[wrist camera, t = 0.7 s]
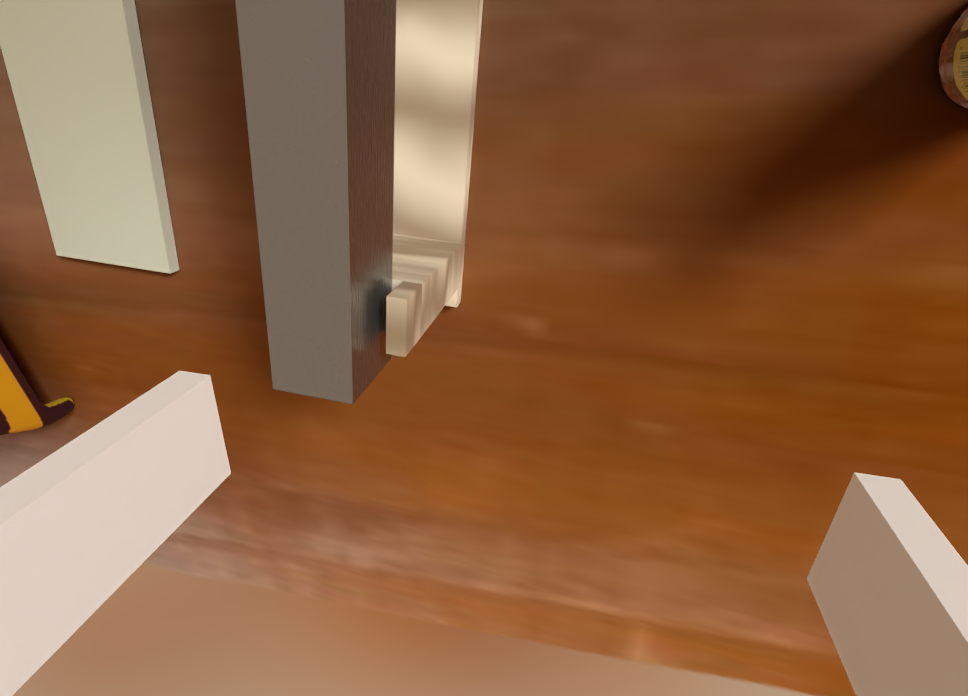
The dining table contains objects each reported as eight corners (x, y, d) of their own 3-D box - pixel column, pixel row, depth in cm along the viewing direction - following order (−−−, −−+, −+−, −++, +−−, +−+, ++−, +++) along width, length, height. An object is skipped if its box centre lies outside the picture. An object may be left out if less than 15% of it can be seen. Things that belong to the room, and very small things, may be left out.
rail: (289, -336, 18) (188, -481, 14) (401, -338, 17) (333, -490, 13) (322, 346, 29) (273, 389, 25) (390, 357, 29) (352, 404, 24)
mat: (-55, -223, 30) (-75, -233, 29) (97, -221, 29) (81, -231, 28) (68, 252, 42) (56, 255, 41) (179, 269, 41) (170, 273, 40)
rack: (362, -190, 27) (200, -394, 16) (499, -187, 26) (426, -401, 15) (366, 286, 38) (272, 359, 27) (461, 301, 37) (404, 383, 26)
